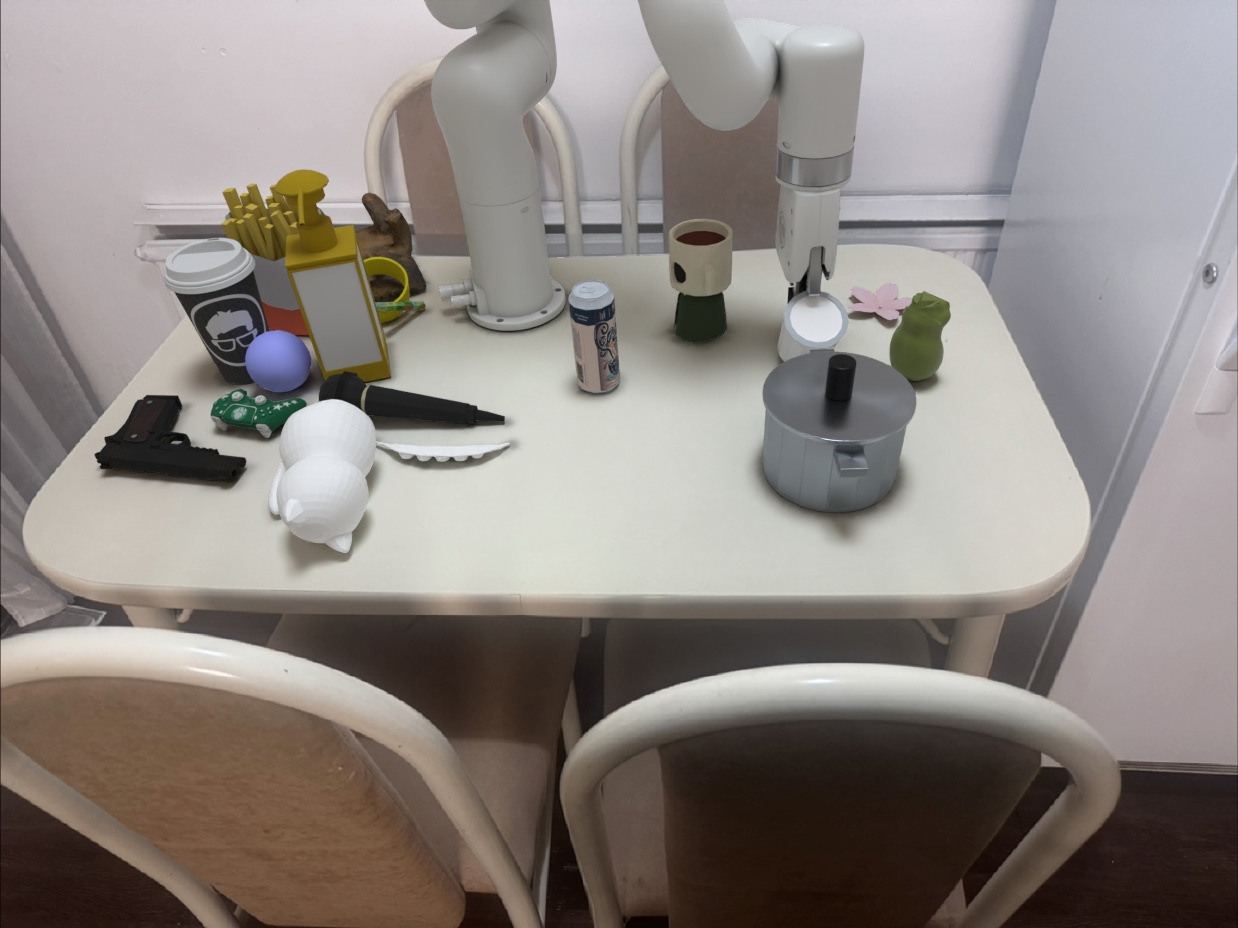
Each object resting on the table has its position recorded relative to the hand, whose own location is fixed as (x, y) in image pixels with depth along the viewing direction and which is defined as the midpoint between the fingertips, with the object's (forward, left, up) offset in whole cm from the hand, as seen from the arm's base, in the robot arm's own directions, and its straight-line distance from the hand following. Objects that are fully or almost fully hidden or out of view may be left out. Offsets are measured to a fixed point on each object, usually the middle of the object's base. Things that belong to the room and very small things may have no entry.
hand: (801, 320), depth 99 cm
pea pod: (-43, -6, -2) cm, 43 cm away
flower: (+12, +4, -3) cm, 13 cm away
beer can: (-24, 0, -3) cm, 24 cm away
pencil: (-52, +11, +6) cm, 54 cm away
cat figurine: (-53, -4, +1) cm, 53 cm away
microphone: (-35, -4, -3) cm, 35 cm away
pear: (+9, -10, -3) cm, 14 cm away
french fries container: (-57, +24, -3) cm, 62 cm away
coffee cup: (-63, +17, -3) cm, 65 cm away
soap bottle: (-50, +10, -3) cm, 51 cm away
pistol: (-66, +10, -2) cm, 67 cm away
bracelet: (-47, +23, +2) cm, 52 cm away
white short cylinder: (-1, -3, -2) cm, 3 cm away
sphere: (-57, +14, -2) cm, 58 cm away
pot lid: (-6, -21, +5) cm, 22 cm away
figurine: (-52, +46, -3) cm, 70 cm away
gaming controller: (-60, +9, -1) cm, 60 cm away
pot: (-6, -21, -3) cm, 22 cm away
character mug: (-10, +6, -3) cm, 12 cm away
